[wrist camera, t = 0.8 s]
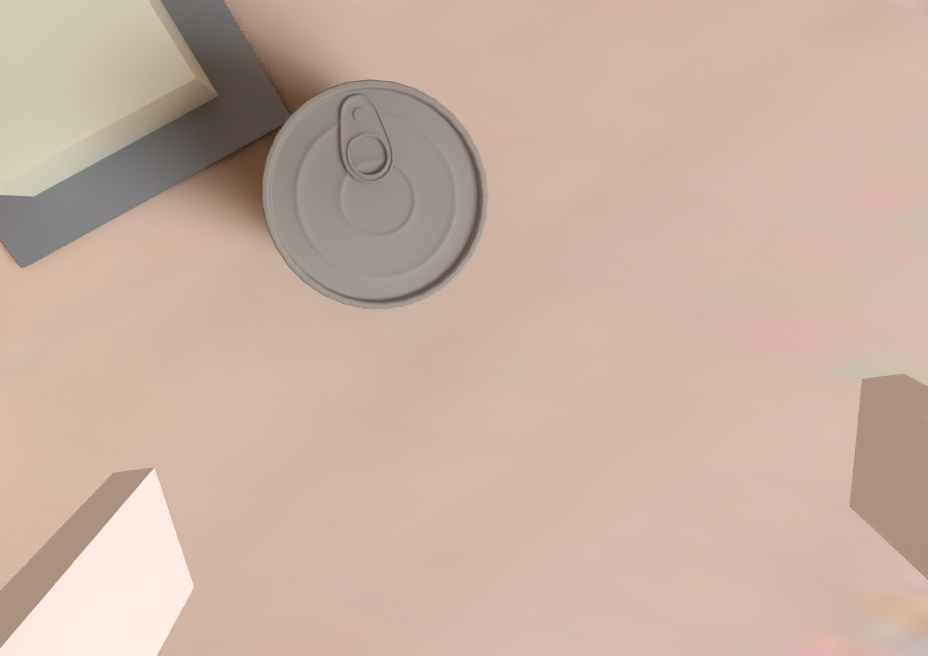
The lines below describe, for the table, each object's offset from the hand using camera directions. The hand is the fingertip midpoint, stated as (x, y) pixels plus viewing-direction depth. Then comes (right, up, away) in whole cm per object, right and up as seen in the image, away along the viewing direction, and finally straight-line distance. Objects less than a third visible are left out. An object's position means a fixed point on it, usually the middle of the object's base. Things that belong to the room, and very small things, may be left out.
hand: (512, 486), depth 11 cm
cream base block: (-19, +16, +16) cm, 30 cm away
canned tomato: (-6, +10, +20) cm, 23 cm away
